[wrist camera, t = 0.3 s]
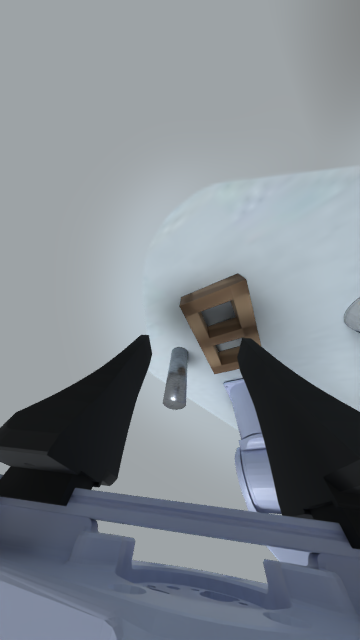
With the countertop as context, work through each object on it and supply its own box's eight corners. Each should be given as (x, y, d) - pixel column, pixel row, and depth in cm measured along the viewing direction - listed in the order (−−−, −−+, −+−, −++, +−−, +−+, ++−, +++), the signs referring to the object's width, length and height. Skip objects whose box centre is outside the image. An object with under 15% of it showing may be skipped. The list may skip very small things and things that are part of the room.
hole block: (256, 349, 23) (264, 363, 20) (212, 360, 25) (214, 374, 23) (237, 273, 17) (246, 279, 14) (181, 297, 19) (179, 306, 16)
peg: (190, 356, 25) (189, 407, 17) (176, 360, 26) (169, 410, 18) (183, 345, 24) (179, 395, 16) (169, 349, 25) (158, 399, 17)
